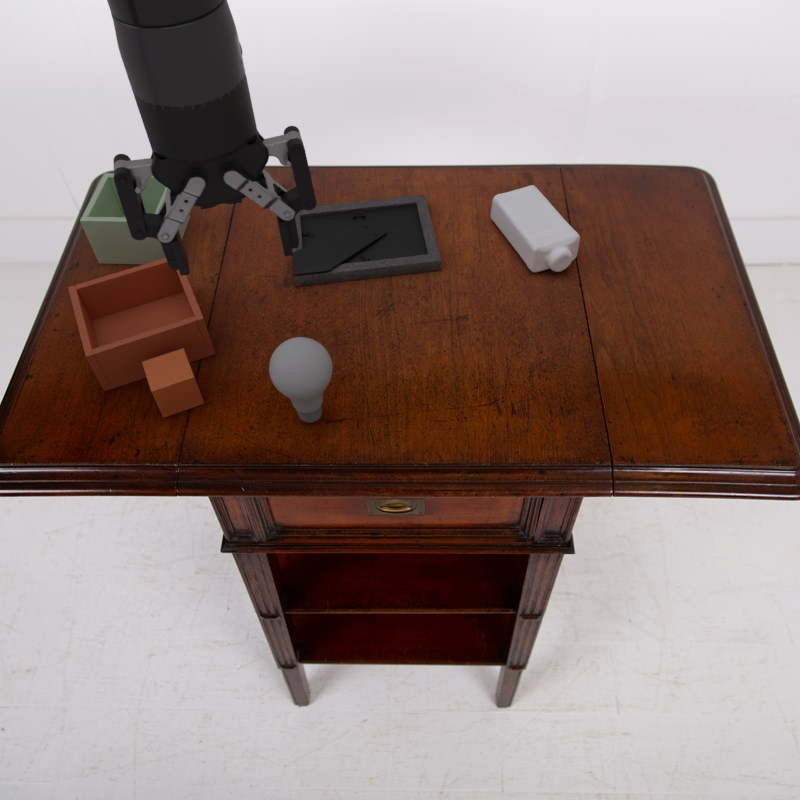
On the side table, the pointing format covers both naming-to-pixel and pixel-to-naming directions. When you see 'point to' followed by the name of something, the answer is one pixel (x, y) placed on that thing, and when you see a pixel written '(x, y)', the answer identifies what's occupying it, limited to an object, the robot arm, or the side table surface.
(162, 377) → the block
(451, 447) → the side table surface
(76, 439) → the side table surface
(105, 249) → the sage bin
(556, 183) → the side table surface
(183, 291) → the terracotta bin
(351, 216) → the picture frame
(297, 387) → the lightbulb
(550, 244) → the white bottle
